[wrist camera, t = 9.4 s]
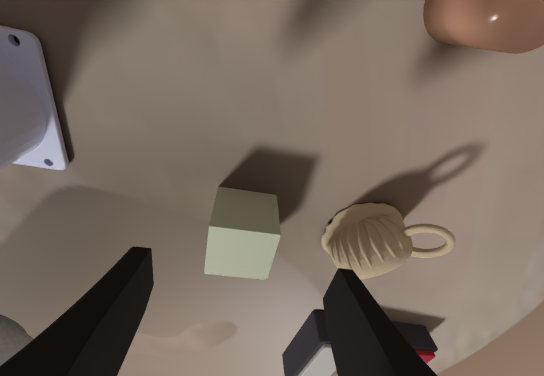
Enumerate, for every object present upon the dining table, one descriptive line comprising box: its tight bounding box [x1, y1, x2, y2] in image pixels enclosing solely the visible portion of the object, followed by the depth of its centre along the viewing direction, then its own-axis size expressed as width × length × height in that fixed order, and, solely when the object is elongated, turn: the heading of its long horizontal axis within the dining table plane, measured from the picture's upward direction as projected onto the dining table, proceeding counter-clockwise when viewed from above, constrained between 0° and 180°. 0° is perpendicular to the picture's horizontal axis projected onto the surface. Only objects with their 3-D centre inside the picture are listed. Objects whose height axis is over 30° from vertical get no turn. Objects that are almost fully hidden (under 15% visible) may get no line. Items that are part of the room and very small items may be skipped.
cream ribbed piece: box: [321, 202, 455, 279], centre depth 19 cm, size 4×8×5 cm, turn 118°
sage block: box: [204, 186, 281, 280], centre depth 19 cm, size 4×4×4 cm
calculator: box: [282, 309, 438, 376], centre depth 32 cm, size 11×4×15 cm
